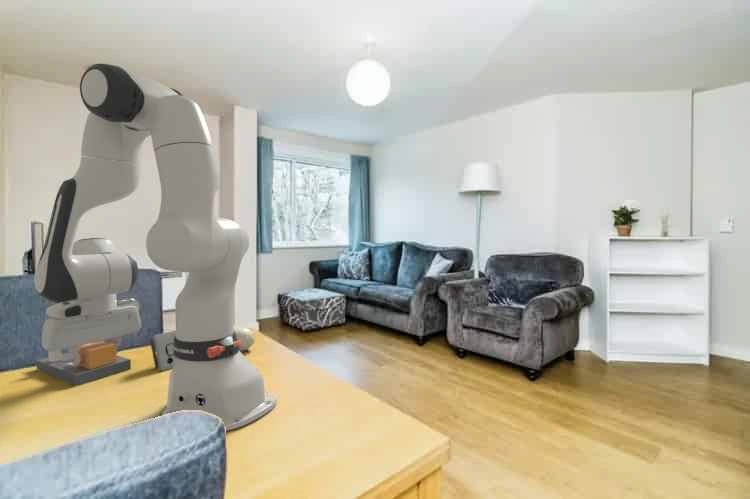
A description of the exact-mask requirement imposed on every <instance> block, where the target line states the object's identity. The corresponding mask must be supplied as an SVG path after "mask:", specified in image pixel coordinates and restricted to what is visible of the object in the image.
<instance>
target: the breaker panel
mask: <svg viewBox="0 0 750 499" xmlns="http://www.w3.org/2000/svg"><path fill="white" fill-rule="evenodd" d="M131 361H132V360H131V358H126V357H124V356H120V355H117V354H116V362H114V363H110V364H107V365H103V366H100V367H96V368H93V369H87V368H84V367H81V366H79V365H77V364H75V362H74V356H73V355H72V354H71V353H70V352H69V351H68V352H66V353H65V352H64V353H62V360H60V361H56V362H50V361H49V358H48V357H43V358H39V359H36V370H37V369H39V370H40V371H39V370H38V371H39V372H41V371H42V373H45V374H47V375H49V376H51V377H54V378H57V379H58V380H60V381H63V382H65V383H68V384H71V385H72V386H75V387H77V386H80V385H85V384H86V383H87V384H88V383H89V382H93V381H96V380H99V379H100V380H101V379H103V378H107V377H110V376H113V375H117V374H120V373H123V372H126V371H130V370H131V369H132V365H131V363H132V362H131Z"/></svg>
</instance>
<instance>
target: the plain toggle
mask: <svg viewBox="0 0 750 499" xmlns="http://www.w3.org/2000/svg"><path fill="white" fill-rule="evenodd" d="M47 351H48V350H47ZM62 351H63V350H59V351H55V352H51V351H48V354H47V355H48V358H49V361H50V362H56V361H60V360H62V354H63V352H62Z"/></svg>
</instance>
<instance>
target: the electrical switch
mask: <svg viewBox="0 0 750 499" xmlns="http://www.w3.org/2000/svg"><path fill="white" fill-rule="evenodd" d="M175 336H176V329H174V330H170V331H166V332H163V333H159V334H154V335H153V337H152V338H150V340H149V341H150V342H149V343H150V346H151V347H150V348H151V353H152V358H153V364H154V367H155V369H158V370H159V371H161V372H163V371H166V370H170V369H172V368H173V366H174V363H175V359H176V357H175V356H174V349H173V343H174V337H175Z"/></svg>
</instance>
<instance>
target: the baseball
mask: <svg viewBox="0 0 750 499" xmlns="http://www.w3.org/2000/svg"><path fill="white" fill-rule="evenodd" d="M233 331H235V333H236V336H237V339H238V340H241V339H243V341H241V342H239V344H241V343H243V344H242V345H239V346H240V350H239V351H240V352H242V351H244V352H245V351H247V350H249V349H250V348H251V347H252V346H253V345H254V344H255V342H256V337H255V334H254V333H253V331H252V330H250V329H249V328H247V327H240V328H236V329H235V330H234V329H233Z"/></svg>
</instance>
